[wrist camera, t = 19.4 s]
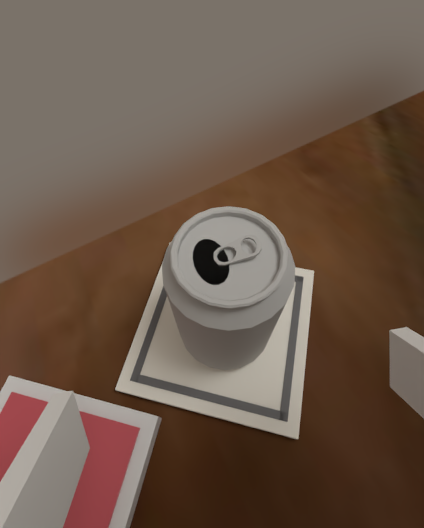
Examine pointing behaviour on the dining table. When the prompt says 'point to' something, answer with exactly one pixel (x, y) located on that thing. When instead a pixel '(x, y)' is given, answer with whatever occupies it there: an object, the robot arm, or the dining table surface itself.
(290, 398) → the marked board
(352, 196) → the dining table surface
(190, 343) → the can
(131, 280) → the dining table surface
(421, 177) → the dining table surface
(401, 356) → the robot arm
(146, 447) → the ink pad
